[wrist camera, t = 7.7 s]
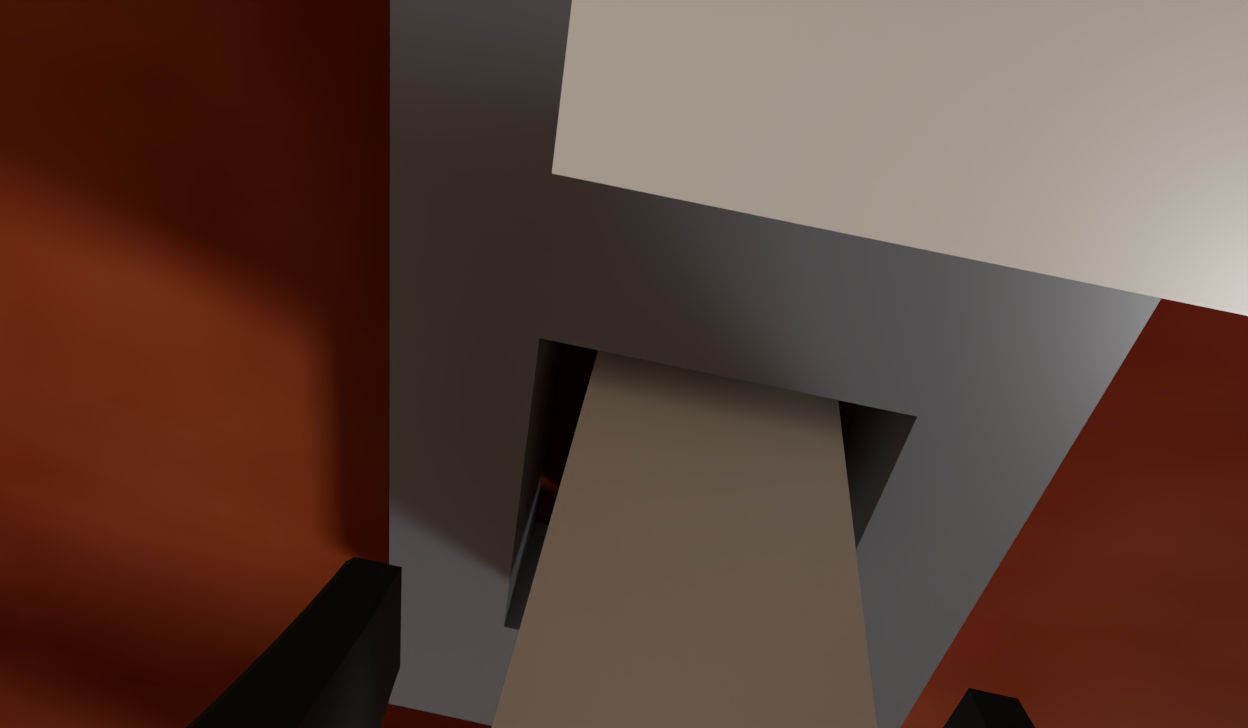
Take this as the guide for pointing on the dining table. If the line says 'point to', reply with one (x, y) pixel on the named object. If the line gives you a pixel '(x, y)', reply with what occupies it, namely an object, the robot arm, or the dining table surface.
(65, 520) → the dining table surface
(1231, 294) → the power strip
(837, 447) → the plug
